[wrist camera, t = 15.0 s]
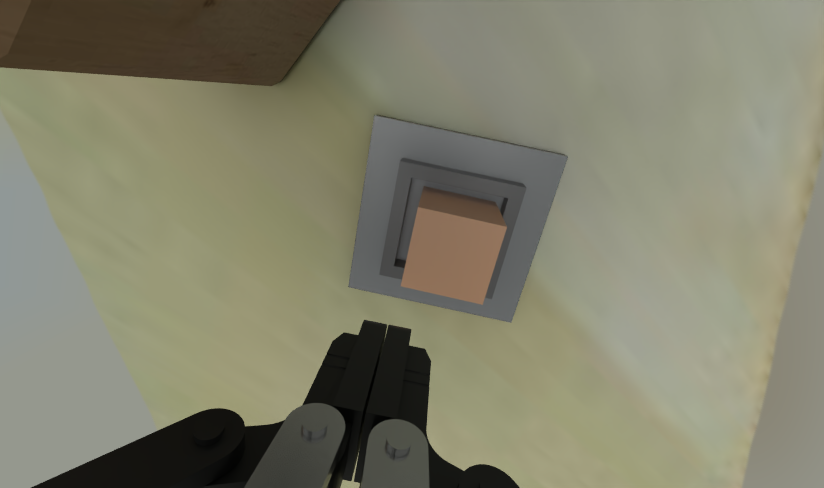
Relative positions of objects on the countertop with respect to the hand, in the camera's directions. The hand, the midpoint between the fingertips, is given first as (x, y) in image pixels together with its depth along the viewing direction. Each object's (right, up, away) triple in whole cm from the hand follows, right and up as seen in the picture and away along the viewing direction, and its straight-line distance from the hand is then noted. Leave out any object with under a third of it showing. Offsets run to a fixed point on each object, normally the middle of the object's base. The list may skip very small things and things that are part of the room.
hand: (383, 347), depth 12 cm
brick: (+4, +5, +18) cm, 19 cm away
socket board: (+4, +5, +19) cm, 20 cm away
